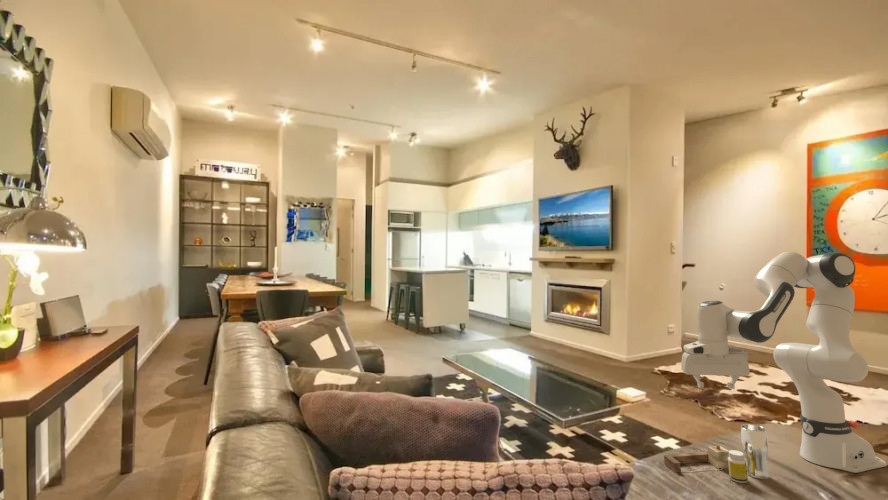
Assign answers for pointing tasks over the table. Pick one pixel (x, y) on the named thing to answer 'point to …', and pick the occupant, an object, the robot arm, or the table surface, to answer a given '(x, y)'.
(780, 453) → the table surface
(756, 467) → the beer glass
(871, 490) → the table surface
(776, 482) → the table surface
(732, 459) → the supplement bottle
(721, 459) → the block
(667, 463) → the fence board
